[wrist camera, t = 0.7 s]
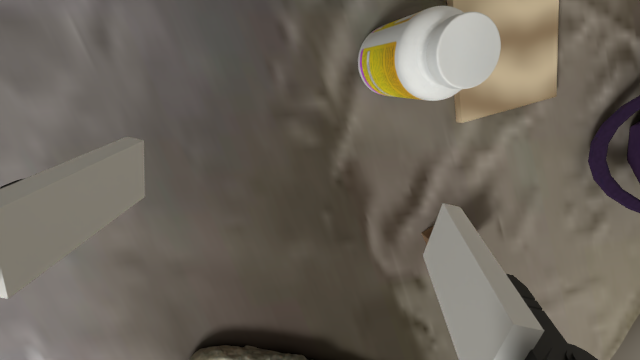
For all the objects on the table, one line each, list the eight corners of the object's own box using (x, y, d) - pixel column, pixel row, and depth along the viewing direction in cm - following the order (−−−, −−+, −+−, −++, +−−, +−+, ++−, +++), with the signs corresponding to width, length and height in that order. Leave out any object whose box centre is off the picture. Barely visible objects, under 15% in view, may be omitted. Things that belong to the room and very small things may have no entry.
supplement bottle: (391, 108, 35) (469, 124, 23) (342, 69, 32) (401, 64, 20) (430, 53, 34) (532, 40, 22) (383, 9, 32) (468, -32, 20)
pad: (443, -43, 31) (449, -47, 30) (551, -65, 33) (560, -69, 32) (456, 121, 37) (461, 122, 36) (548, 96, 38) (556, 96, 37)
